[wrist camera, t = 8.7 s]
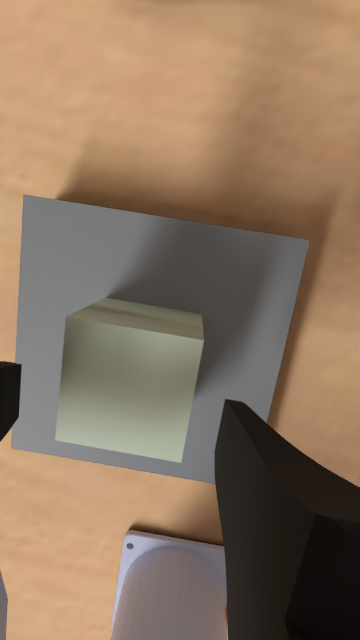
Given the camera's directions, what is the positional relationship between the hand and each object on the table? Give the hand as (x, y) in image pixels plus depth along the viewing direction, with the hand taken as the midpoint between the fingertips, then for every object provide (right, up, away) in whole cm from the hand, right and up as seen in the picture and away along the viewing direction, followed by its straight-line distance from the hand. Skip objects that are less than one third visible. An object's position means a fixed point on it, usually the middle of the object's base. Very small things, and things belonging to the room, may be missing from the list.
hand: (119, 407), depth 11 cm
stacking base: (0, +2, +9) cm, 9 cm away
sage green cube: (0, +1, +6) cm, 6 cm away
